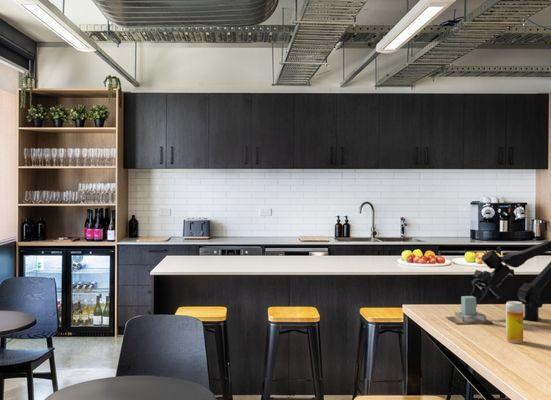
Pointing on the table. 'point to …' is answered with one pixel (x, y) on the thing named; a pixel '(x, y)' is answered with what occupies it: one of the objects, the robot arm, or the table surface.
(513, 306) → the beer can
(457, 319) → the brown framed base board
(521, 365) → the table surface
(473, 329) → the table surface
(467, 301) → the pale blue box
